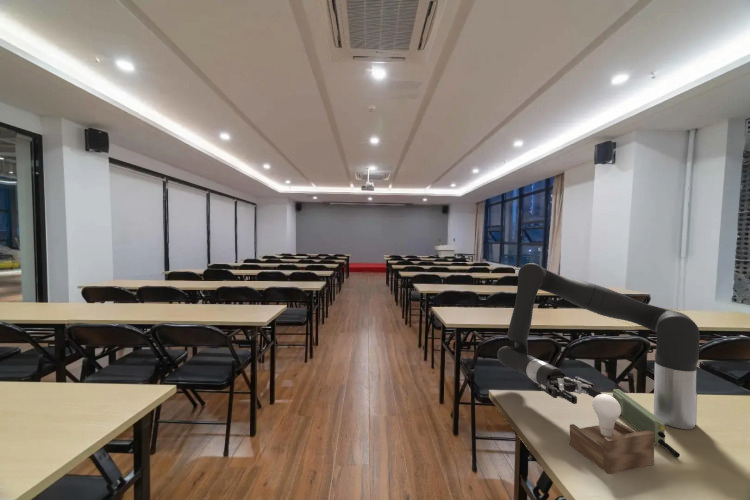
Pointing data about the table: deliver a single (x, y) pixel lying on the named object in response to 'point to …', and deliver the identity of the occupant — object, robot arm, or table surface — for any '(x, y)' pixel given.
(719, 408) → the table surface
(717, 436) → the table surface
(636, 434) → the stand
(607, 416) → the lightbulb
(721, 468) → the table surface
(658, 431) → the handheld radio
